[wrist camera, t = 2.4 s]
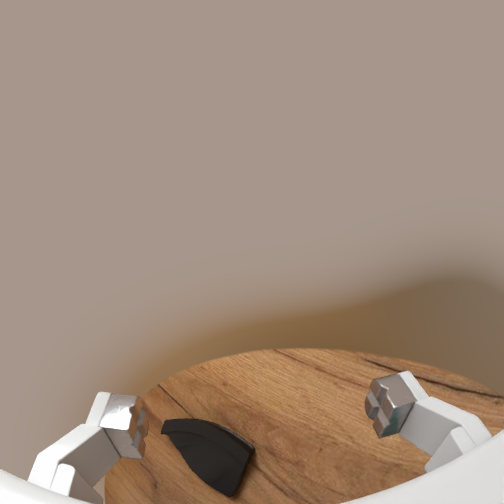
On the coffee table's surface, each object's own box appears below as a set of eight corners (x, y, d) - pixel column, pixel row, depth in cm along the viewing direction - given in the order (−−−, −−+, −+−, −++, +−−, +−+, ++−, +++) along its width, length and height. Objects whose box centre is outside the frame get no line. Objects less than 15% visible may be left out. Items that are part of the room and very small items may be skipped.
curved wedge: (181, 393, 35) (171, 393, 34) (259, 448, 26) (251, 451, 25) (164, 440, 34) (155, 441, 32) (234, 498, 25) (225, 502, 24)
